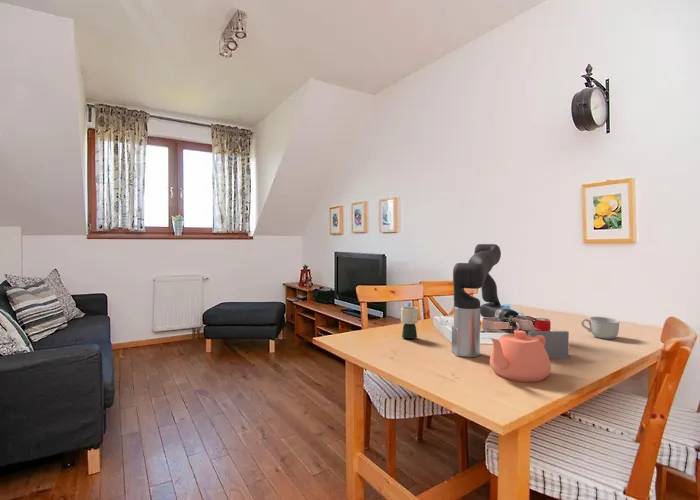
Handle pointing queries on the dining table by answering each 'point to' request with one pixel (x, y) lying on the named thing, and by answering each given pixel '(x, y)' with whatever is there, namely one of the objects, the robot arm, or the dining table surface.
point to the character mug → (409, 321)
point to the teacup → (602, 327)
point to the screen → (554, 342)
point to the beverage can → (542, 324)
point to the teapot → (520, 357)
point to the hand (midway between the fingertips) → (525, 324)
